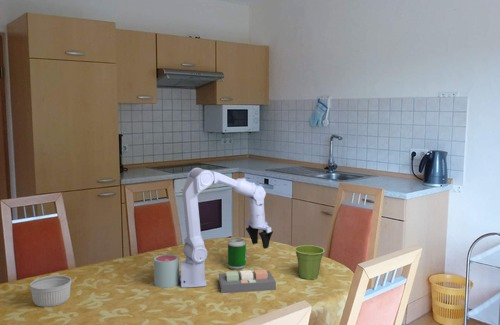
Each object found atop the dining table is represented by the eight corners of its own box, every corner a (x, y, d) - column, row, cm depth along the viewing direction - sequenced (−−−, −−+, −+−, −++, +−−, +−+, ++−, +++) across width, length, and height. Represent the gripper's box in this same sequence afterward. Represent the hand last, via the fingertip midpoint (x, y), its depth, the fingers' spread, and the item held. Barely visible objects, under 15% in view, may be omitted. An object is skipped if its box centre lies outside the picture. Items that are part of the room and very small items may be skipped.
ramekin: (60, 290, 168) (59, 272, 168) (79, 299, 160) (78, 280, 159) (23, 301, 158) (22, 282, 157) (42, 312, 150) (41, 292, 149)
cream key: (241, 284, 171) (241, 274, 170) (240, 279, 175) (239, 270, 174) (253, 283, 171) (253, 274, 171) (251, 279, 176) (251, 270, 175)
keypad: (221, 293, 166) (221, 284, 165) (218, 281, 178) (218, 273, 177) (275, 289, 169) (275, 281, 169) (269, 278, 181) (269, 270, 180)
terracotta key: (256, 283, 171) (256, 274, 171) (254, 278, 176) (254, 270, 175) (267, 282, 172) (267, 273, 172) (265, 278, 176) (265, 269, 176)
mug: (173, 288, 170) (173, 262, 169) (150, 286, 172) (149, 261, 171) (186, 275, 183) (186, 251, 182) (164, 274, 185) (164, 250, 184)
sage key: (226, 284, 170) (226, 275, 169) (225, 280, 174) (225, 271, 174) (238, 284, 170) (238, 275, 170) (237, 279, 175) (237, 271, 174)
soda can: (245, 270, 189) (245, 242, 188) (227, 270, 189) (227, 242, 188) (246, 264, 196) (246, 237, 195) (228, 264, 197) (228, 237, 195)
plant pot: (309, 284, 174) (310, 255, 173) (287, 276, 183) (288, 248, 182) (330, 277, 182) (330, 249, 180) (308, 269, 191) (308, 243, 189)
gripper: (276, 214, 183) (279, 247, 185) (255, 208, 194) (258, 239, 197) (262, 218, 179) (265, 252, 181) (241, 212, 191) (244, 243, 193)
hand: (260, 245), depth 189 cm, fingers open, 7 cm apart
